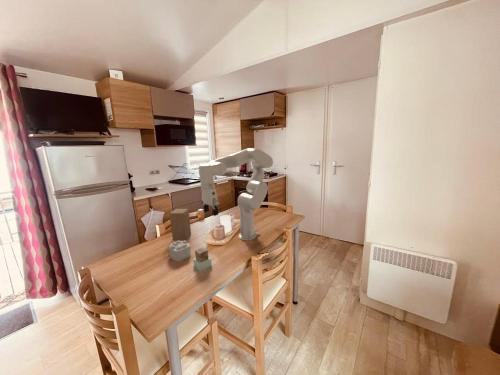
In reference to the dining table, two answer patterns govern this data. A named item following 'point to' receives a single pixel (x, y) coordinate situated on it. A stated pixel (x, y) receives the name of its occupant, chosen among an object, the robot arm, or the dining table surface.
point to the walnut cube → (201, 254)
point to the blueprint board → (203, 269)
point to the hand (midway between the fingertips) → (211, 213)
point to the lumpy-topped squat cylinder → (179, 250)
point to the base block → (202, 263)
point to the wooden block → (180, 224)
